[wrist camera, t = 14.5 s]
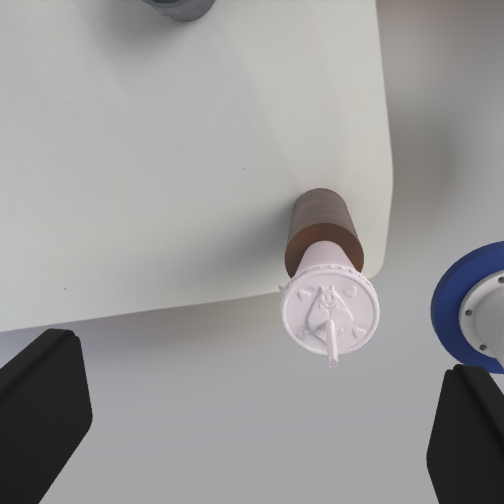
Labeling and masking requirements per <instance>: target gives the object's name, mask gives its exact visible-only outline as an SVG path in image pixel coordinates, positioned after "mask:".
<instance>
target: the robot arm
mask: <svg viewBox="0 0 504 504" xmlns="http://www.w3.org/2000/svg"><path fill="white" fill-rule="evenodd" d="M459 325H460V329H461V331H462V333H463V335H464V337H465V338H466V340H467V341H468V342H469V343H470V345H471V346H472V347H473V348H475V349H476V350H477V351H479V352H480V353H482V354H485V355H487V356H489V357H493V358H496V359H497V360H498V361H499V363H500V364H501V365H502V367H503V368H504V270H501V271H498V272H495V273H493V274H490V275H488V276H487V277H485V278H483V279H482V280H480V281H479V282H478V283H476V284H475V285H474V286H473V287H472V288H471V289H470V290H469V292H468V293H467V294H466V295H465V297H464V299H463V301H462V303H461V306H460V310H459ZM92 416H93V415H92V408H91V403H90V397H89V390H88V384H87V378H86V372H85V366H84V360H83V355H82V348H81V342H80V339H79V337H77V336H75V334H74V333H73V331H71V330H63V329H48V330H46V331H45V332H43V333H42V334H41V335H40V336H39V337H38V338H36V339H35V340H34V341H33V342H32V343H30V344H29V345H28V346H27V347H26V348H25V349H24V350H22V351H21V352H20V353H19V354H18V355H16V356H15V357H14V358H13V359H12V360H10V361H9V362H8V363H7V364H6V365H4V366H3V367H2V368H1V369H0V504H39V502H40V501H41V499H42V498H43V497H44V495H45V494H46V492H47V491H48V489H49V488H50V486H51V485H52V483H53V482H54V480H55V479H56V477H57V476H58V474H59V473H60V472H61V470H62V469H63V467H64V466H65V464H66V463H67V461H68V459H69V458H70V457H71V455H72V454H73V452H74V451H75V449H76V448H77V447H78V445H79V444H80V442H81V441H82V439H83V438H84V436H85V435H86V433H87V432H88V430H89V429H90V426H91V423H92V418H93V417H92ZM426 460H427V468H428V472H429V475H430V478H431V481H432V484H433V487H434V489H435V493H436V496H437V499H438V502H439V504H504V395H503V393H502V392H501V390H500V389H499V387H498V386H497V384H496V383H495V382H494V380H493V379H492V377H491V376H490V374H489V373H488V371H487V370H486V369H485V368H484V367H482V366H474V365H463V364H456V365H455V366H454V367H453V370H447V371H446V372H445V375H444V380H443V384H442V389H441V393H440V397H439V402H438V407H437V411H436V415H435V420H434V424H433V429H432V433H431V437H430V441H429V446H428V450H427V457H426Z"/></svg>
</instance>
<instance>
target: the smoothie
mask: <svg viewBox="0 0 504 504" xmlns="http://www.w3.org/2000/svg"><path fill="white" fill-rule="evenodd" d="M379 316H380V310H379V304H378V299H377V294H376V292H375V290H374V288H373V287H372V284H371V283H370V282H369V281H368V280H367V279H366V278H365V277H364V276H363V275H362V274H361V273H359V272H358V271H356V269H355V268H354V266H353V265H352V263H351V262H350V260H349V259H348V257H347V256H346V254H345V253H344V251H343V250H342V248H341V247H340V246H338V245H337V244H335V243H333V242H330V241H319V242H316V243H314V244H312V245H311V246H310V247H309V248H308V249H307V250H306V251H305V253H304V256H303V258H302V260H301V263H300V265H299V267H298V270H297V272H296V274H295V276H294V277H293V278H291V279H290V281H289V282H288V284H287V285H286V287H285V288H284V290H283V293H282V296H281V300H280V317H281V322H282V325H283V327H284V330H285V331H286V333H287V335H288V336H289V337H290V339H291V340H292V341H293V342H294V343H296V344H297V345H298V346H299V347H301V348H303V349H305V350H306V351H309V352H311V353H314V354H318V355H323V356H327V357H328V365H329V366H330V367H332V368H334V367H337V366H338V355H343V354H347V353H350V352H352V351H354V350H356V349H358V348H360V347H361V346H363V345H364V344H365V343H366V342H367V341H368V340H369V339H370V338H371V337H372V335H373V334H374V332H375V330H376V328H377V326H378V322H379Z"/></svg>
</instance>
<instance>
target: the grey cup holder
mask: <svg viewBox="0 0 504 504" xmlns="http://www.w3.org/2000/svg"><path fill="white" fill-rule="evenodd" d="M142 1H144V2H145V3H147V4H148V5H150V6H151V7H153V8H154V9H156V10H157V11H159V12H160V13H162V14H163V15H165V16H167V17H169V18H171V19H174V20H176V21H191V20H195V19H197V18H199V17H201V16H203V15H204V14H205V13H206V12H207V11H208V10H209V9H210V8H211V7H212V5H213V4H214V2H215V0H142Z"/></svg>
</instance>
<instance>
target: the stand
mask: <svg viewBox="0 0 504 504" xmlns="http://www.w3.org/2000/svg"><path fill="white" fill-rule="evenodd" d="M319 241H330V242H333V243H335V244H337V245H338V246H340V247H341V248H342V250H343V251H344V253H345V254H346V256H347V257H348V259H349V260H350V262H351V263H352V265H353V266H354V268H355V269H356V271H358V272H359V273H361V271H362V268H363V264H364V254H363V249H362V247H361V244H360V241H359V239H358V236H357V233H356V230H355V228H354V225H353V222H352V220H351V217H350V214H349V212H348V209H347V206H346V204H345V202H344V200H343V199H342V198H341V197H340V196H339V195H338V194H337V193H336V192H334V191H332V190H329V189H324V188H318V189H313V190H310V191H308V192H306V193H305V194H303V195H302V196H301V197H300V198H299V199H298V201H297V202H296V204H295V206H294V210H293V215H292V220H291V226H290V231H289V236H288V242H287V247H286V252H285V266H286V270H287V272H288V275H289V276H290V278H293V277H294V276H295V274H296V272H297V270H298V267H299V265H300V263H301V260H302V258H303V256H304V253H305V251H306V250H307V249H308V248H309V247H310V246H311V245H312V244H314V243H316V242H319Z"/></svg>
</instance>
